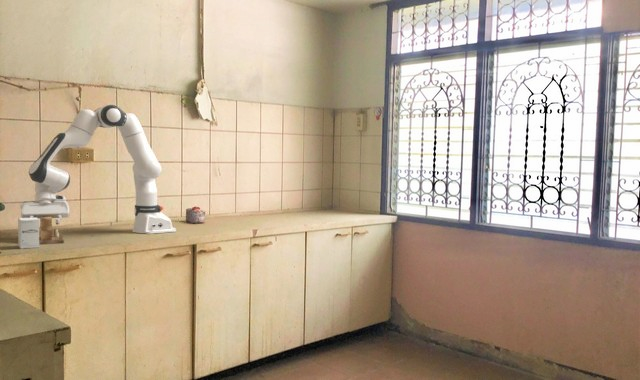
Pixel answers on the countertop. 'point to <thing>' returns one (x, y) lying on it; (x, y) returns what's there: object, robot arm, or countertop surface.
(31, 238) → the supplement box
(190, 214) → the food item
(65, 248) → the countertop surface
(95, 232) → the countertop surface
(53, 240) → the peg stand
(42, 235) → the brown rectangular block
